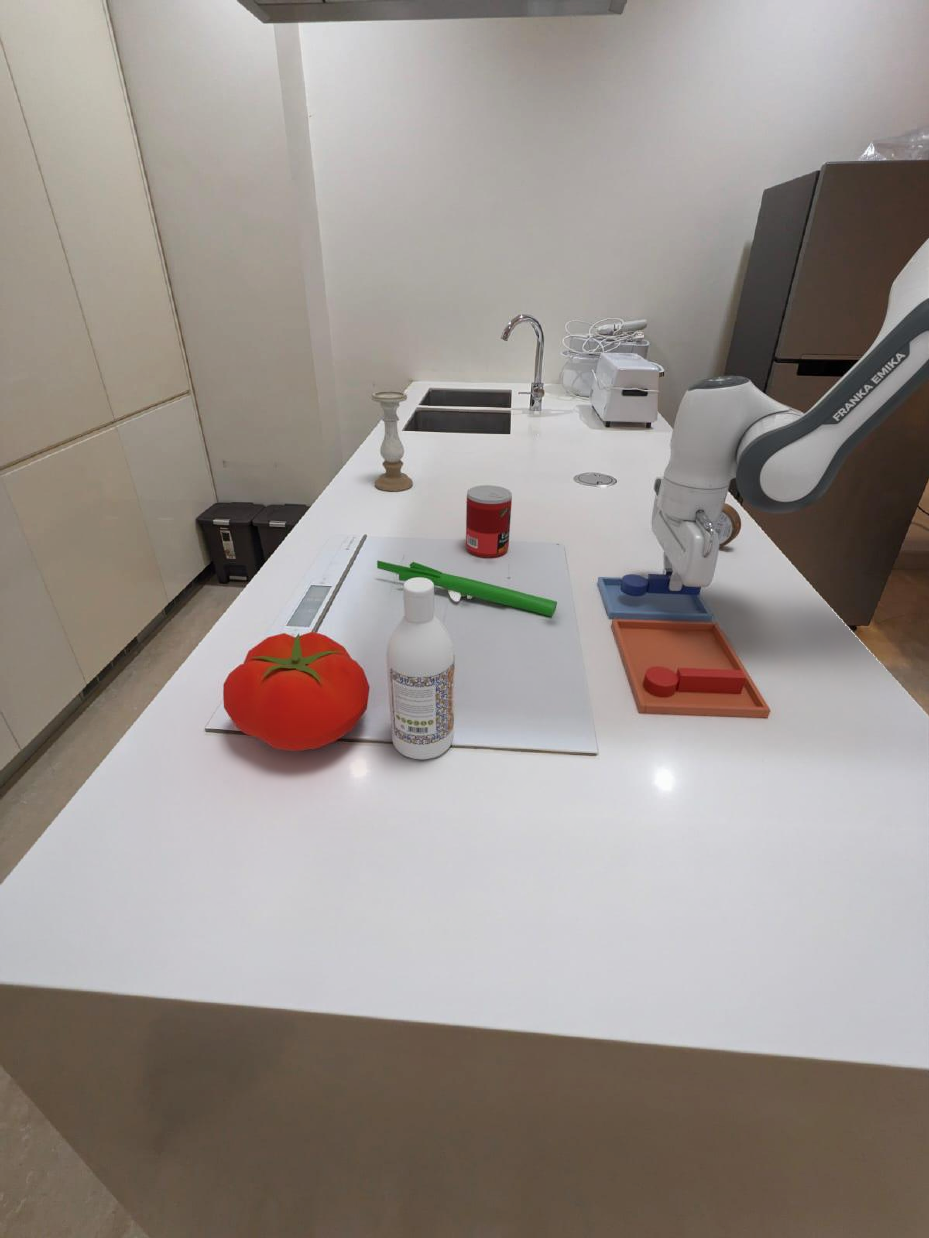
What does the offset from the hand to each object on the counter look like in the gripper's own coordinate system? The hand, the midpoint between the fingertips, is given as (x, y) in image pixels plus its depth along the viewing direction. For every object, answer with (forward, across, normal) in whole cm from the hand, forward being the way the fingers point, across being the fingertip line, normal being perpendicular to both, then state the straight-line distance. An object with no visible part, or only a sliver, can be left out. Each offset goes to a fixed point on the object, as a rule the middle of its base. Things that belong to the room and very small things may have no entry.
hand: (670, 583), depth 90 cm
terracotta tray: (+4, -17, +2) cm, 18 cm away
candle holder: (+4, +51, +50) cm, 72 cm away
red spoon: (+3, -22, +3) cm, 22 cm away
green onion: (+4, 0, +32) cm, 33 cm away
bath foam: (+4, -32, +35) cm, 48 cm away
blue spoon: (+1, 0, +2) cm, 3 cm away
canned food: (+4, +18, +28) cm, 34 cm away
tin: (+4, +25, -12) cm, 28 cm away
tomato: (+4, -30, +49) cm, 58 cm away
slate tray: (+4, 0, +2) cm, 4 cm away
